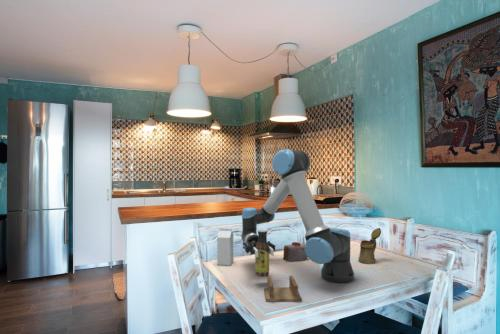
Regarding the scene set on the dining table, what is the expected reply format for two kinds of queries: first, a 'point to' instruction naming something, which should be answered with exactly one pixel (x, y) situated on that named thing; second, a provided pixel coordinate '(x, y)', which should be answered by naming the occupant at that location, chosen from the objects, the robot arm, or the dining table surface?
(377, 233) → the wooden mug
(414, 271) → the dining table surface
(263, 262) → the sauce bottle
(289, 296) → the walnut slotted rack
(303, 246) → the food item
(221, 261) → the milk carton
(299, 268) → the dining table surface
